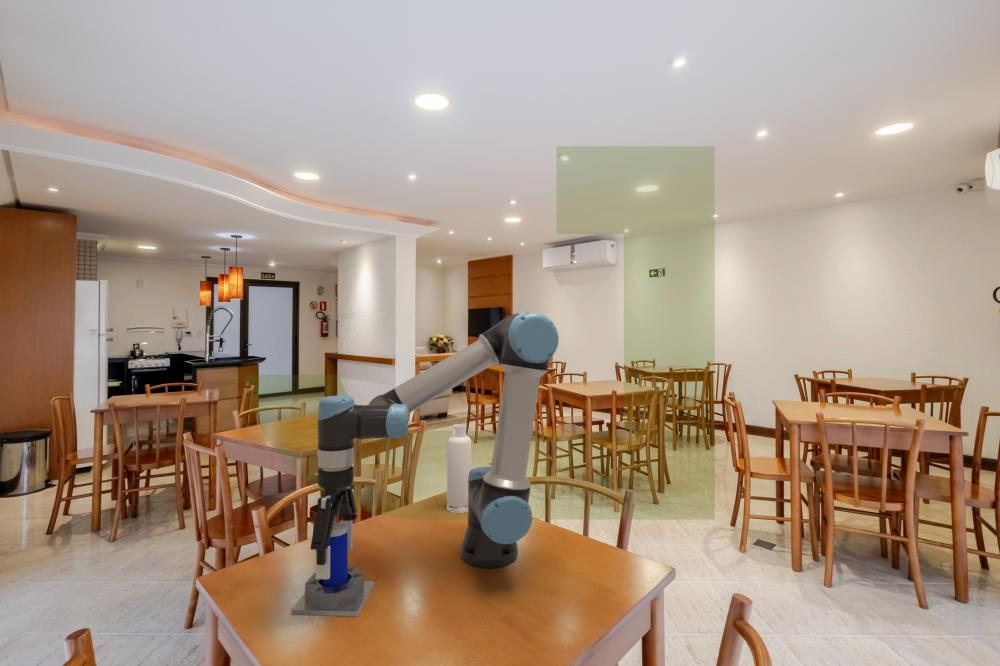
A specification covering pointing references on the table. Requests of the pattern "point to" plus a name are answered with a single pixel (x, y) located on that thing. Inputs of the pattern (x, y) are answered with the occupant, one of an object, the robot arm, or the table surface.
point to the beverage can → (338, 556)
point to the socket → (334, 596)
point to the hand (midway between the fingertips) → (335, 562)
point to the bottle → (458, 469)
